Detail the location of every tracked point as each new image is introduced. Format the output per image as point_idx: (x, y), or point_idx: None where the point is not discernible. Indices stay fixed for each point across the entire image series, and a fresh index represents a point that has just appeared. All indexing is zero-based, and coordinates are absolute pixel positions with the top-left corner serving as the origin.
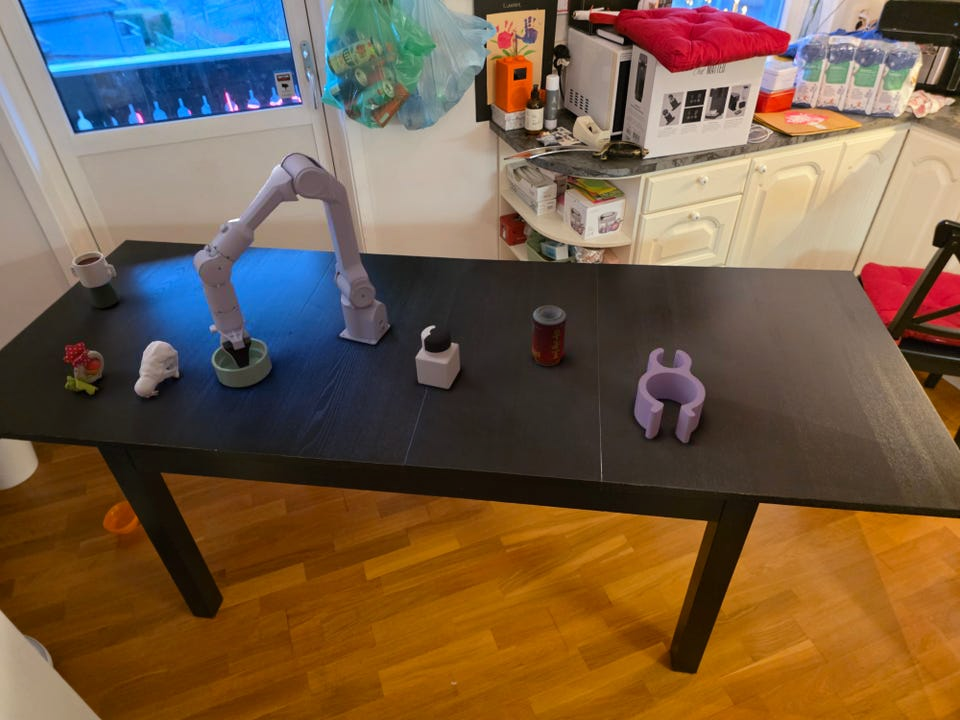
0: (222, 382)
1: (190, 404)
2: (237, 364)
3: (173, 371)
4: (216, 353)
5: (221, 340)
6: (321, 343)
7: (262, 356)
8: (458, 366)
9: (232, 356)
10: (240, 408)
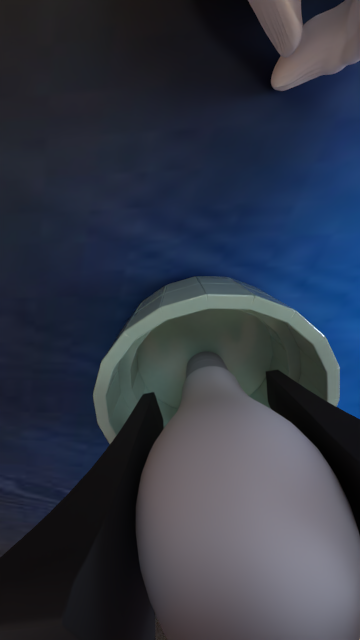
0: (145, 300)
1: (66, 167)
2: (134, 408)
3: (282, 27)
4: (271, 316)
5: (211, 518)
6: None
7: None
8: None
9: (89, 470)
10: (31, 342)
